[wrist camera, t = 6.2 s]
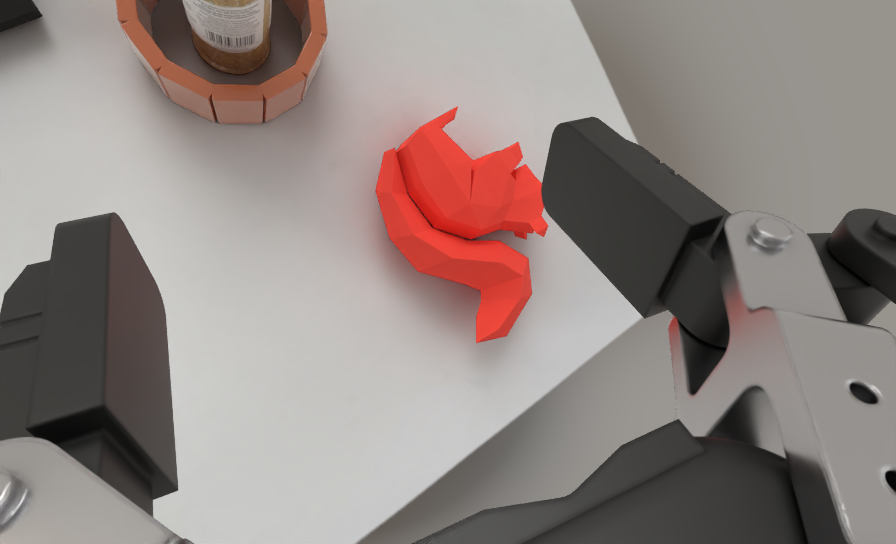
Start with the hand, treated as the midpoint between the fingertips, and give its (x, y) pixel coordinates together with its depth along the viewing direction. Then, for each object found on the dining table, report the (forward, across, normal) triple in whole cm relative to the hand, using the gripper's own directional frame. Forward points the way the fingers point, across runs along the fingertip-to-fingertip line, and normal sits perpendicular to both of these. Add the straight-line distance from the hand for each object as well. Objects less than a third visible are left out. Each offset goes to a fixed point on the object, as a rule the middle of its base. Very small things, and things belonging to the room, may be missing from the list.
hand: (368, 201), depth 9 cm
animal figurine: (+17, -12, +18) cm, 28 cm away
